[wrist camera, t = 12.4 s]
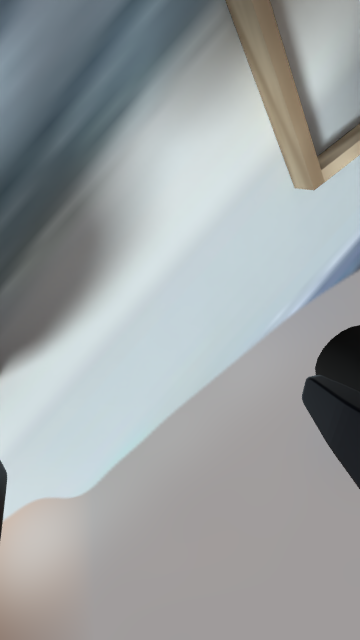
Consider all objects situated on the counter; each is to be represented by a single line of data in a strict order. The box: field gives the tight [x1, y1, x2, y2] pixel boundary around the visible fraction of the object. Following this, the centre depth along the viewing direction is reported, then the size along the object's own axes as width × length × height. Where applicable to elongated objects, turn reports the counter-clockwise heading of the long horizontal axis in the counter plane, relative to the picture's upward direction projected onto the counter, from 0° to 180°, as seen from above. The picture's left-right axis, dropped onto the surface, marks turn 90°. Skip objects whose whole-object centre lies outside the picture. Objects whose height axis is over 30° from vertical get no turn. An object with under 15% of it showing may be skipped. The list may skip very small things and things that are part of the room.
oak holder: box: [226, 0, 360, 190], centre depth 16 cm, size 11×11×2 cm
